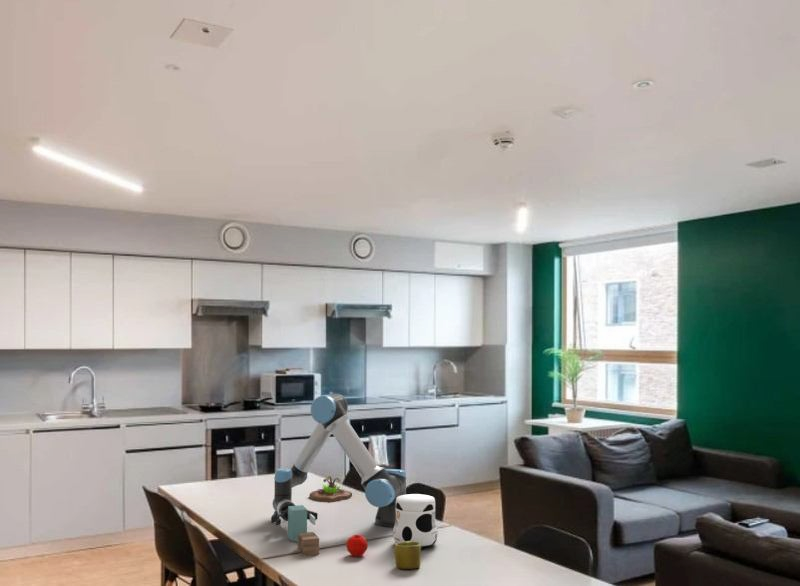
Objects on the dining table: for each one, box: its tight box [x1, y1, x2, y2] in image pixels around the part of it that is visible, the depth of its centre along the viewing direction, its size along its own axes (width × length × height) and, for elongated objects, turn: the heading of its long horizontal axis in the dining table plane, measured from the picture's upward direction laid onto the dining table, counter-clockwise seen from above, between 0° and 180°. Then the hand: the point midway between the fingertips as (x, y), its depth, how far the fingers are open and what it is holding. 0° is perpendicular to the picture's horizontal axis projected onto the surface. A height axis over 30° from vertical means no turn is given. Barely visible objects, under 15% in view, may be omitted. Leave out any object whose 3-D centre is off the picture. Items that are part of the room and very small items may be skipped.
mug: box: [393, 541, 422, 570], centre depth 250 cm, size 12×10×10 cm
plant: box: [308, 475, 353, 503], centre depth 357 cm, size 20×20×11 cm
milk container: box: [392, 493, 439, 549], centre depth 276 cm, size 17×17×18 cm
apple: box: [345, 534, 368, 558], centre depth 261 cm, size 8×8×7 cm
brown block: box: [297, 531, 320, 557], centre depth 265 cm, size 9×6×6 cm
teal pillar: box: [287, 504, 308, 542], centre depth 283 cm, size 8×6×12 cm
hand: (298, 522), depth 280 cm, fingers open, 12 cm apart
